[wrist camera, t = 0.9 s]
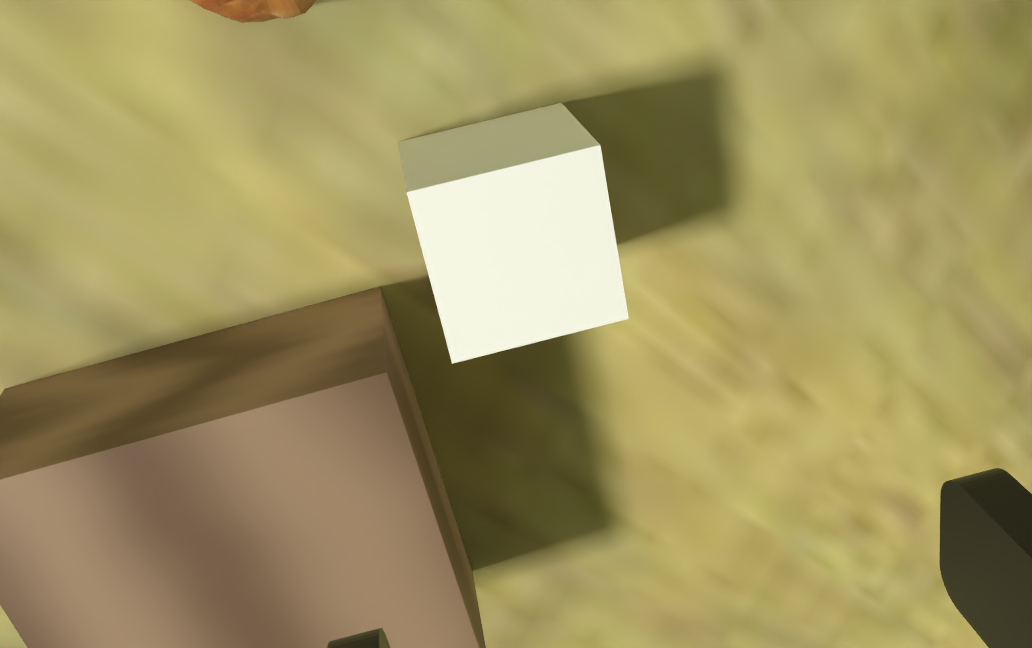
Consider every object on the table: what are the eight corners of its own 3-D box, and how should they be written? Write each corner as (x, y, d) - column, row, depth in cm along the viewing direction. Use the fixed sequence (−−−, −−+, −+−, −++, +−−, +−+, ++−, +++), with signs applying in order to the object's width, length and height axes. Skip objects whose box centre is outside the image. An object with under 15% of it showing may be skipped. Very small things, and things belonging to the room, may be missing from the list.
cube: (560, 102, 28) (600, 144, 24) (588, 253, 31) (628, 318, 26) (397, 141, 28) (406, 192, 24) (436, 291, 30) (452, 363, 26)
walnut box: (380, 283, 30) (386, 372, 25) (471, 565, 36) (492, 689, 30) (7, 384, 30) (-68, 498, 24) (157, 656, 35) (123, 797, 30)
